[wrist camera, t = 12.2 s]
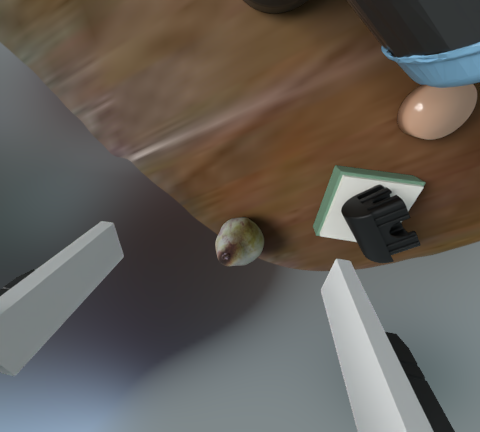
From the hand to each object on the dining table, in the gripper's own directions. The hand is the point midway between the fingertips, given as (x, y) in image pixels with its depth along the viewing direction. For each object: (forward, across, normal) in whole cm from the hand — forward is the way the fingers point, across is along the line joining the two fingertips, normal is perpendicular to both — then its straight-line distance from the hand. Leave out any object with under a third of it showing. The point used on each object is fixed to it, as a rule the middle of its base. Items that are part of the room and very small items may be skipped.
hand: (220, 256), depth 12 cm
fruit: (+27, 0, -17) cm, 32 cm away
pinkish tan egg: (+27, +24, +9) cm, 37 cm away
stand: (+27, +21, -7) cm, 35 cm away
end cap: (+23, +21, -7) cm, 32 cm away
